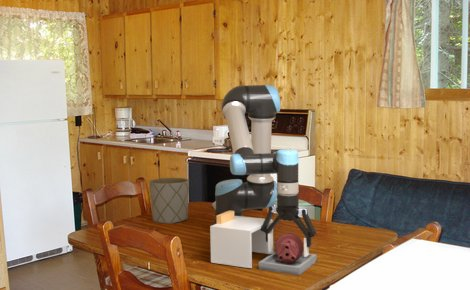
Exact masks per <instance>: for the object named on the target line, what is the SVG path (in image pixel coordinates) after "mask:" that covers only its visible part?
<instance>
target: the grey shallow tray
mask: <svg viewBox="0 0 470 290" xmlns="http://www.w3.org/2000/svg"><path fill="white" fill-rule="evenodd" d="M317 255H318V254H315V253H309V255H308V256H307V257H304V252H303V253H302V256H301V257H300V258H299V259H298V260H296V261H293V262H290V263H286V262H283V261H282V260H279V258H278V255H277V253H276V251H273V253H272V254H268V255H267V256H266V257H265V258H263V259H261V260H259V261H258V270H261V271H262V270H263V271H268V272H275V273H281V274H288V275H296V276H300V275H302V274H303V273H304V272H306V271H307V270H309V268H310V267H312V266H313V265H314V264H315V263H316V262H317V261H318V260H317V259H318V258H317V257H318V256H317Z"/></svg>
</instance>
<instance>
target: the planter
mask: <svg viewBox="0 0 470 290" xmlns="http://www.w3.org/2000/svg"><path fill="white" fill-rule="evenodd" d="M189 182H190V180H189V179H188V178H183V177H164V178H163V177H161V178H154V179H151V180H150V181H149V182H148V183H149V194H150V204H151V215H152V216H151V217H152V221H153V222H154V223H159V224H165V225H167V224H175V223H181V222H183V221H186V220H188V217H189V216H188V215H189V193H190V191H189V190H190V189H189V188H190V183H189Z"/></svg>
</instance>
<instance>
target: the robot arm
mask: <svg viewBox="0 0 470 290" xmlns="http://www.w3.org/2000/svg"><path fill="white" fill-rule="evenodd" d="M221 112H222V116H223V118H225V120H226V124H227V125H226V126H227V129H228V134H229V139H230V143H231V148H232V151H233V152H232V153H233V154H231V155H230V156H229V170H230V173H231V174H232V175H234V176H246V175H248V176H247V177H246V182H243V180H242V179H239V178H235V179H226V180H222V181H219V182H218V183H217V184H216V185H215V193H214V195H215V201H216V209H215V218H214V222H213V225H215V224H217V215H219V214H222V213H224V212H227V211H229V210H230V211H234V216H243V217H244V215H243V211H244V210H243V209H246V210H253V209H254V210H256V209H257V210H258V209H262V210H265V209H268V210H267V211H268V212H267V215H266V217H265V218H264V219H265V221H264V223H263V225H262V227H261V229H260V230H261V231H263V232H265V233H266V242H268V252H271V251H273V252H274V232H273V233H272V232H271V231H272V229H273V230H274V228H275V227H276V226H277V225H278V224H279V222H280V221H281V220H282V221H288V222H293V223H295V225H296V226H297V228H299V230H300V231H301V233H302V234H303V235H304V236H305V237H303V246H304V250H303V253H304V257H307V256H308V255H309V254H310V247H312V238H314V237H315V236H317V230H316V229H315V227H314V224H313V222H312V220H311V218H310V215H309V212H308V208H301V209H300V207H299V204H300V203H299V196H300V195H299V192H300V191H299V163H300V159H299V152H298V150H296V149H289V148H288V149H279V150H277V151H274V152H272V128H273V127H272V126H273V124H272V122H273V120H275V119H276V115H277V114H278V113H280V112H281V98H280V94H279V91H278V89H277V87H276V86H274V85H271V84H270V85H269V84H254V85H253V84H251V85H249V84H248V85H238V86H235V87H232V88H231V89H230V90H228V92H226V94H225V95H224V97H223V100H222V102H221ZM245 114H247V117H248V119H249V120H250V121H251V127H250V128H251V134H250V131H249V127H248V124H247V119H246V115H245ZM273 174H276V180H274V177H273V176H272V175H273ZM276 204H277V206H275V205H276ZM275 213H277V216H276V217H275V219H273V222H272V224H271V225H270V226H269V227H268V228H267V226H268V224H269V222H270V220H271V219H272V218H273V216H274V214H275ZM299 214H300V215H301V216H302V219H301V217H300V216H299ZM302 220H303V221H304V222H303V221H302ZM304 223H305V224H304ZM270 232H271V233H270Z"/></svg>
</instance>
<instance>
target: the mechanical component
mask: <svg viewBox="0 0 470 290" xmlns="http://www.w3.org/2000/svg"><path fill="white" fill-rule="evenodd" d="M274 249H275V250H274V252H276V253H277V255H278V258H279V260H282V261H283V262H286V263H290V262H293V261H296V260H298V259H299V258H300V257H301V256H302V253H304V241H302V239H301V238H300V236H298V235H297V234H295V233H291V232H288V233H284V234H281V235H280V236H279V237H278V238H277V239H276V242H275V245H274Z"/></svg>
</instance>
